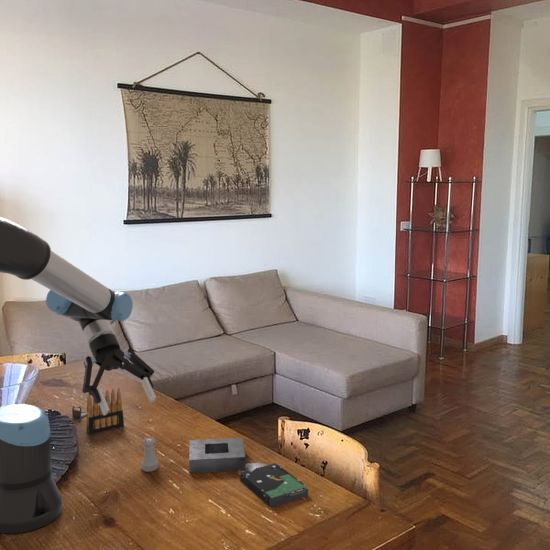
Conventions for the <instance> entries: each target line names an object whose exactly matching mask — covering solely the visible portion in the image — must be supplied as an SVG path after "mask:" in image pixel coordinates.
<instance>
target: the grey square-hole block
mask: <svg viewBox="0 0 550 550" xmlns="http://www.w3.org/2000/svg"><path fill="white" fill-rule="evenodd" d="M188 452H189V455H188V469H189V470H188V471H189V473H188V474H202V473H203V474H204V473H216V472H217V473H218V472H220V473H221V472H234V471H235V472H236V471H238V472H239V471H246V453H245V452H246V451H245V448H244V441H243V437H228V438H227V437H225V438H209V439H208V438H207V439H204V438H203V439H190V440H189V451H188Z"/></svg>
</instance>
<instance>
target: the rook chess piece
mask: <svg viewBox="0 0 550 550" xmlns="http://www.w3.org/2000/svg"><path fill="white" fill-rule="evenodd" d="M155 443H156V440H155V437H153V436H147V437H146V436H145V437H144V438H143V441H142V445H143V449H144V451H143V452H144V454H143V458H142V461H141V462H140V469H141V471H143V472H145V473H146V472H147V473H150V472H151V473H152V472H154V471H156V470H158V469H159V460H158V459H157V457H156V454H155V453H156V452H155V448H156V447H155Z"/></svg>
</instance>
